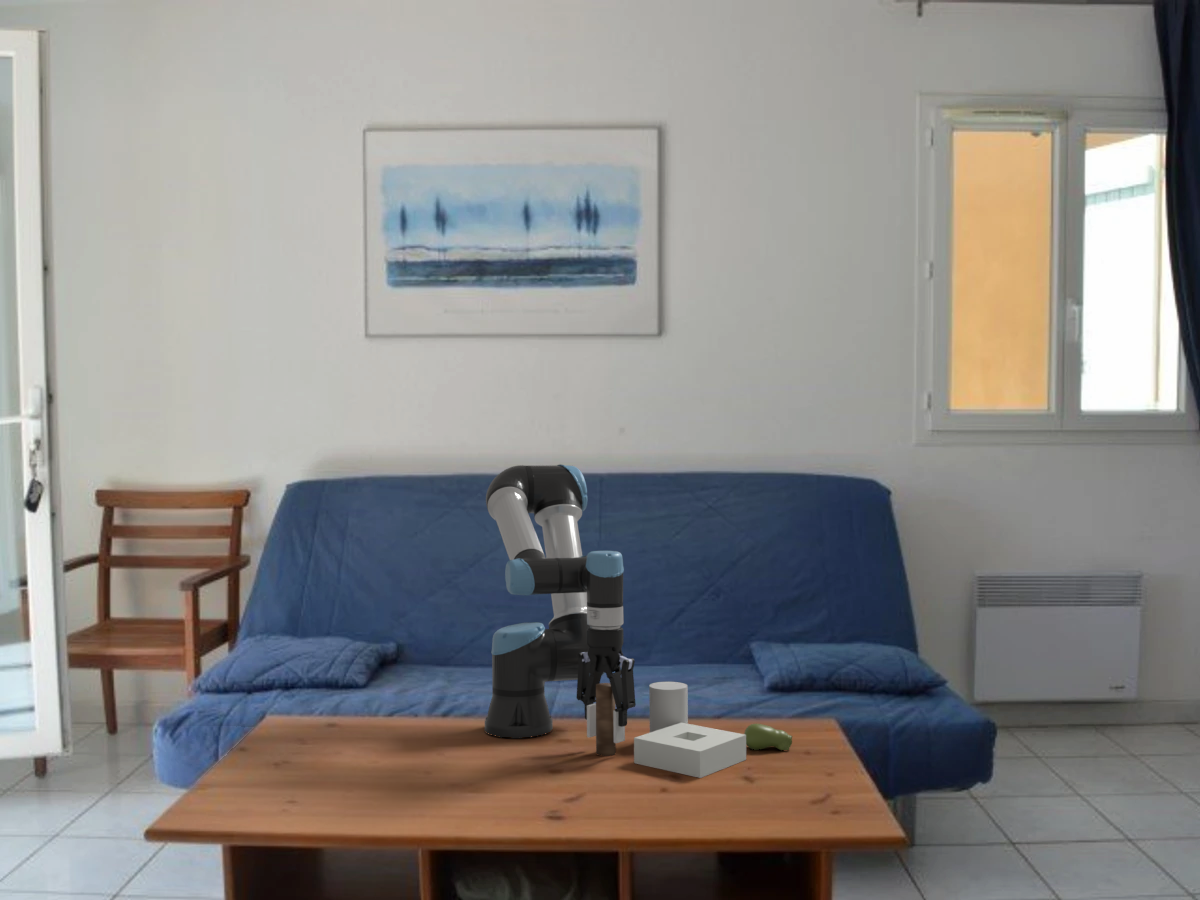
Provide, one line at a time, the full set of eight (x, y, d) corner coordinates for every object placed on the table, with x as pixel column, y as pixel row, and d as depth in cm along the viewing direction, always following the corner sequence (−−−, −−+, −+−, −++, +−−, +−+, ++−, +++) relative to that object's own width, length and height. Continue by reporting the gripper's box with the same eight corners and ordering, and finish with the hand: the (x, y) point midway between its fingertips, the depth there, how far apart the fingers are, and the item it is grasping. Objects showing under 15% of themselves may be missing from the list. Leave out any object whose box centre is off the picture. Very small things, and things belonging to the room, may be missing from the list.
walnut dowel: (592, 753, 224) (591, 685, 224) (604, 749, 227) (604, 682, 227) (607, 756, 222) (606, 687, 222) (619, 752, 225) (619, 684, 225)
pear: (744, 719, 230) (791, 726, 230) (740, 744, 230) (787, 751, 230) (748, 725, 224) (796, 733, 224) (744, 750, 224) (792, 758, 224)
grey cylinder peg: (688, 737, 237) (687, 681, 237) (687, 747, 229) (687, 690, 229) (650, 736, 237) (650, 681, 237) (648, 746, 229) (648, 689, 229)
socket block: (634, 763, 217) (633, 737, 217) (681, 746, 229) (681, 722, 229) (700, 778, 207) (700, 751, 207) (746, 759, 219) (746, 734, 219)
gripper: (557, 624, 228) (558, 734, 228) (630, 633, 215) (631, 750, 215) (581, 620, 234) (582, 727, 234) (653, 628, 221) (654, 742, 221)
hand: (605, 738), depth 224 cm, fingers open, 6 cm apart
